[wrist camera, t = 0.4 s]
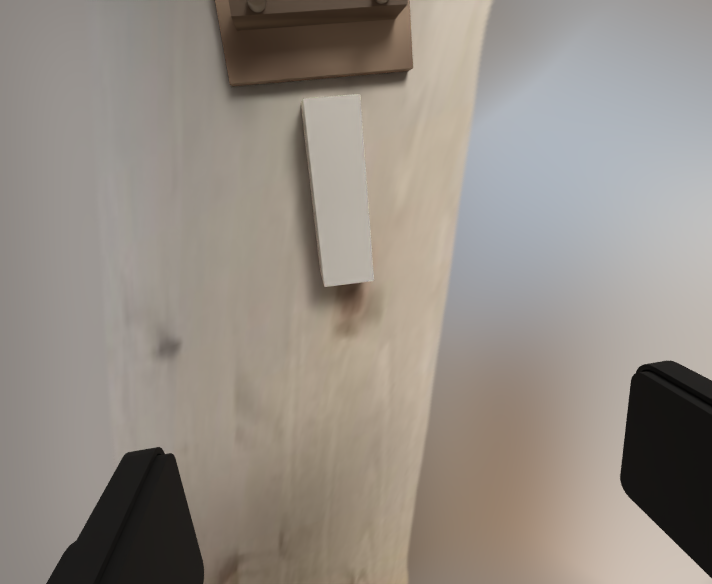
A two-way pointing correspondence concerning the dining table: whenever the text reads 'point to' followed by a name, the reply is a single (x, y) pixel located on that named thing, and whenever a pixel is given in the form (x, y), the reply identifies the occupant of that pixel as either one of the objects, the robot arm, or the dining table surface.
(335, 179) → the white rectangular block
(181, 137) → the dining table surface
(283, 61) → the walnut rack
